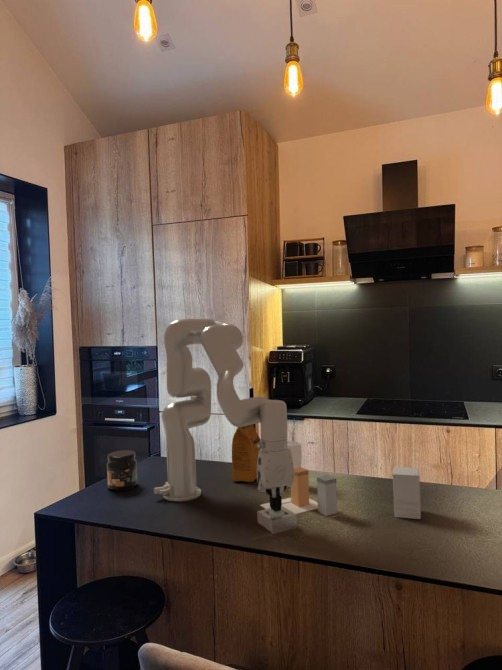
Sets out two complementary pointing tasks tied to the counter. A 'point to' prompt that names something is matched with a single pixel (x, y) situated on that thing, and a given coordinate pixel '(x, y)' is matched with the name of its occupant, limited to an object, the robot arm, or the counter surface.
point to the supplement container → (122, 470)
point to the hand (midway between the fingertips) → (275, 509)
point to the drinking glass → (295, 453)
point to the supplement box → (406, 492)
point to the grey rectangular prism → (327, 495)
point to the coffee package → (245, 454)
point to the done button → (276, 513)
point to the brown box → (300, 487)
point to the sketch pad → (294, 508)
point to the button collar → (277, 520)
